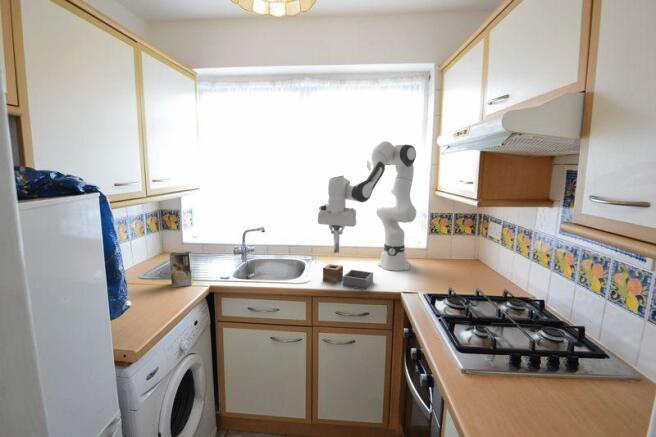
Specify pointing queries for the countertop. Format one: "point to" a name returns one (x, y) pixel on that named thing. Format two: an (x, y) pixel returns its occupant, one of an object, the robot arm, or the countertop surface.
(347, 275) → the charcoal tray
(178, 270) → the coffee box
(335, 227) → the steel pin
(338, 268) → the walnut hitch block
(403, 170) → the robot arm
